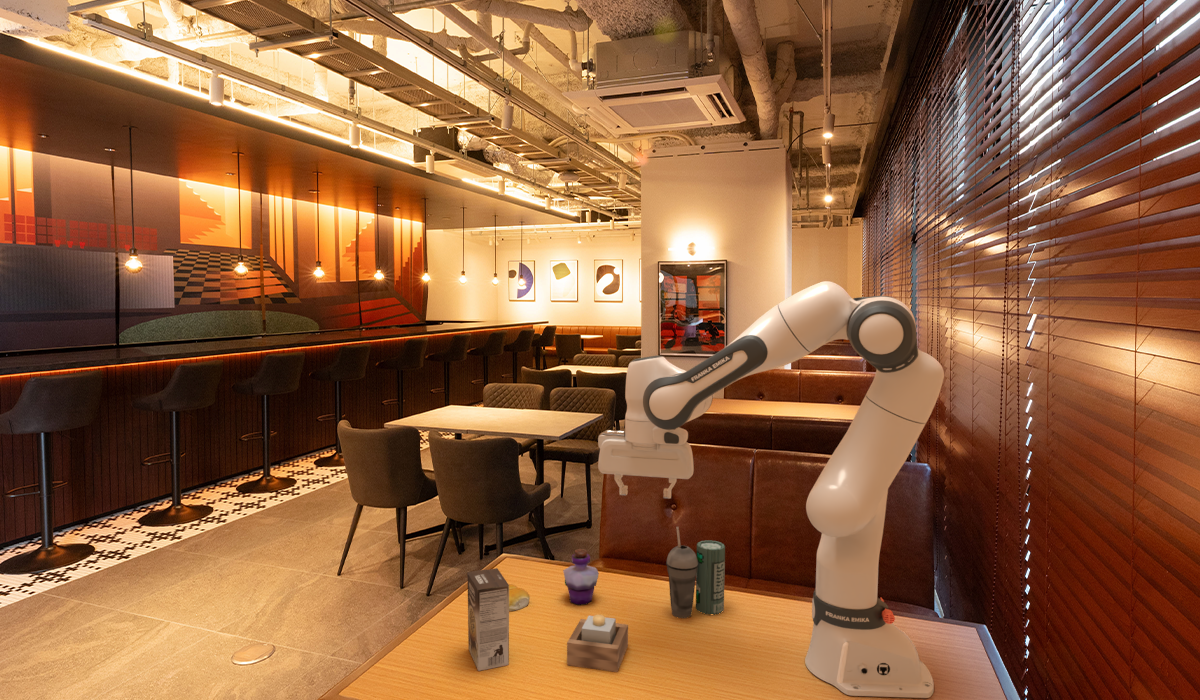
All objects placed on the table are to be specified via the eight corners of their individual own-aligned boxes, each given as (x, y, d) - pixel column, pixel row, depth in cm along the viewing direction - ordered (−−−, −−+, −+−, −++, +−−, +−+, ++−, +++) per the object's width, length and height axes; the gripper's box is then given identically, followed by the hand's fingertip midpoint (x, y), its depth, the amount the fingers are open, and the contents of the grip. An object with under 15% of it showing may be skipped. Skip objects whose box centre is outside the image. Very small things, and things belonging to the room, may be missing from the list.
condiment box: (627, 645, 134) (628, 624, 134) (617, 672, 125) (617, 649, 124) (580, 639, 137) (580, 618, 136) (567, 665, 127) (567, 642, 127)
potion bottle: (567, 590, 160) (567, 542, 160) (602, 594, 159) (602, 545, 158) (558, 606, 152) (558, 555, 151) (594, 610, 150) (595, 558, 150)
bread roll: (511, 592, 160) (511, 576, 160) (535, 604, 153) (535, 587, 153) (483, 603, 154) (483, 586, 154) (506, 615, 148) (506, 598, 147)
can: (706, 600, 155) (707, 538, 154) (728, 608, 151) (729, 545, 150) (691, 608, 151) (692, 545, 150) (713, 617, 147) (714, 552, 146)
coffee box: (467, 649, 133) (466, 571, 132) (498, 643, 135) (497, 566, 134) (477, 672, 124) (476, 589, 123) (510, 665, 127) (509, 583, 126)
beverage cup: (696, 622, 144) (698, 533, 143) (663, 619, 146) (664, 531, 145) (698, 608, 151) (699, 523, 150) (667, 605, 153) (668, 520, 152)
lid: (615, 640, 133) (615, 612, 132) (609, 654, 127) (609, 625, 127) (588, 636, 134) (588, 609, 134) (581, 650, 128) (581, 622, 128)
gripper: (594, 432, 138) (594, 496, 139) (692, 437, 133) (691, 504, 134) (601, 427, 144) (601, 488, 145) (695, 431, 140) (694, 495, 140)
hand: (645, 496), depth 140 cm, fingers open, 8 cm apart
